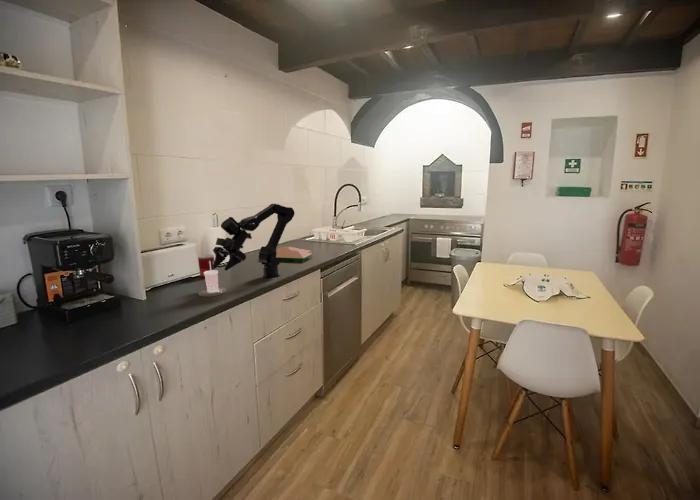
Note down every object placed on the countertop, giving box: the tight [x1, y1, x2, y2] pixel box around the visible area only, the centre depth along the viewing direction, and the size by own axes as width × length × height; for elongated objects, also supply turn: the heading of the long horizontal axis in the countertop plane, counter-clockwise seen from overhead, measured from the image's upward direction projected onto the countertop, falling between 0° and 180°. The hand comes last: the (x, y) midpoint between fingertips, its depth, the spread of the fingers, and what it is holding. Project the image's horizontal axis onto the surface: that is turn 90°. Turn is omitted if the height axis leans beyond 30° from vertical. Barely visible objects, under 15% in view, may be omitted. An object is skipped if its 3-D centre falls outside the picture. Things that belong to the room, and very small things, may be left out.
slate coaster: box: [197, 287, 228, 298], centre depth 161 cm, size 12×12×1 cm
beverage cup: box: [204, 261, 219, 293], centre depth 160 cm, size 6×6×14 cm
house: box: [276, 245, 314, 263], centre depth 231 cm, size 23×33×8 cm
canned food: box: [197, 254, 216, 278], centre depth 190 cm, size 8×8×11 cm
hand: (219, 268), depth 162 cm, fingers open, 9 cm apart
